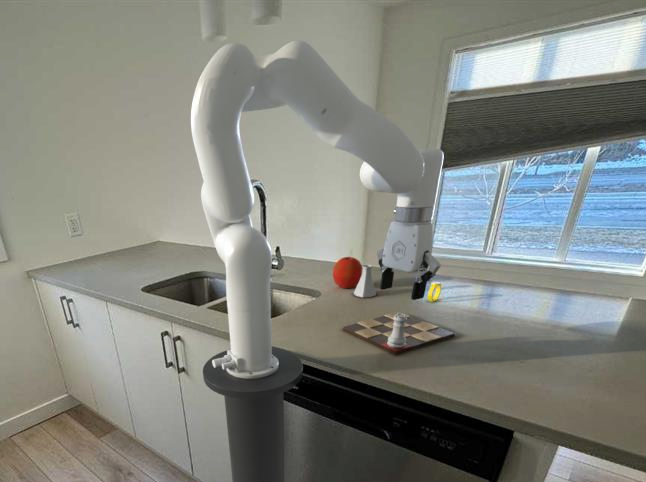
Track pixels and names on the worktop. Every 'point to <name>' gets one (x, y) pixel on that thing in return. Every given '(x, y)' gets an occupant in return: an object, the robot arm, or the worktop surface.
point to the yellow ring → (431, 290)
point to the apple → (347, 272)
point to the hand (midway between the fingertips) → (400, 293)
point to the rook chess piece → (398, 332)
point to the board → (414, 333)
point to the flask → (365, 283)
